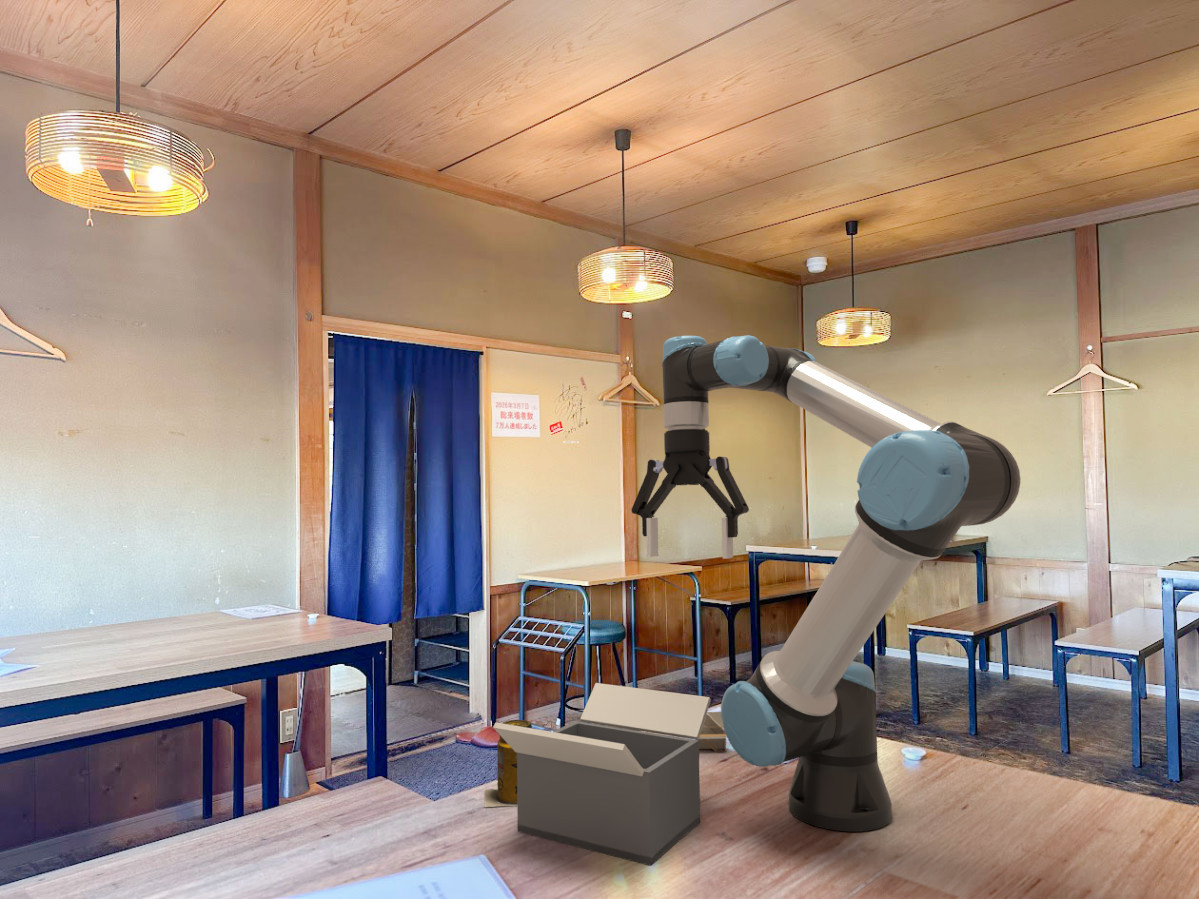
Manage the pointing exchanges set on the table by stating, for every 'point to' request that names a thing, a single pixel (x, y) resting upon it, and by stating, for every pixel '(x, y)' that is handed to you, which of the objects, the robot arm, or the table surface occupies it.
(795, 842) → the table surface
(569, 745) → the near flap
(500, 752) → the condiment
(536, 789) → the carton
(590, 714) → the far flap
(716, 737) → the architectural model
